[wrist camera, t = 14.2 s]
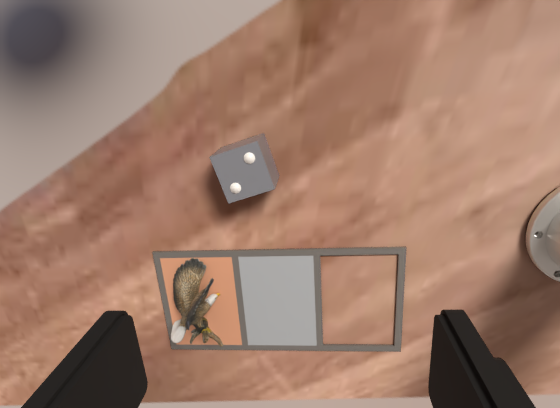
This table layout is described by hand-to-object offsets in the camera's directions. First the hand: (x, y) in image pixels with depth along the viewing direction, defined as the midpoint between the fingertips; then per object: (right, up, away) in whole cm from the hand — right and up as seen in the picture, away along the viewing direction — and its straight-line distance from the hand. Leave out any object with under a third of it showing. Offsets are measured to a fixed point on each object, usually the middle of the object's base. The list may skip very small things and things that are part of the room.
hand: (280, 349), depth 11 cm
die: (-3, +9, +29) cm, 31 cm away
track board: (0, -8, +35) cm, 36 cm away
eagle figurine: (-10, -7, +35) cm, 37 cm away
